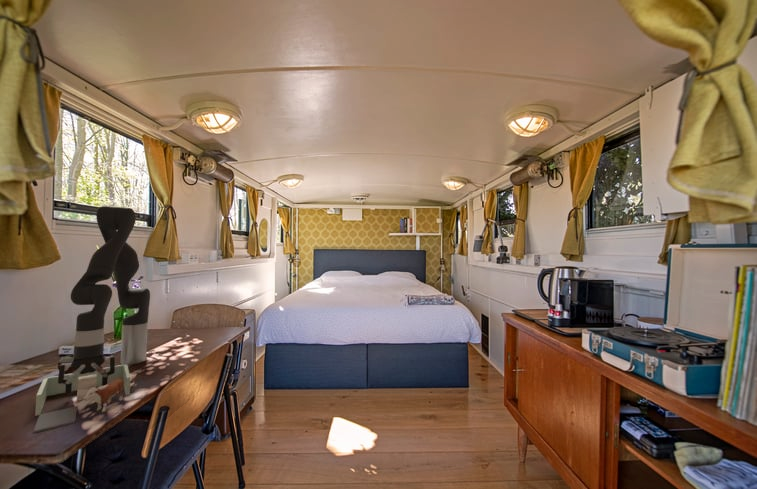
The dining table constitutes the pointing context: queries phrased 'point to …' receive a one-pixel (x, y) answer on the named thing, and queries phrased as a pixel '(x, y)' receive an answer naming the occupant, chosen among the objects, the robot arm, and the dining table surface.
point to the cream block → (85, 385)
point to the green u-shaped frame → (53, 387)
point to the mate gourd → (66, 360)
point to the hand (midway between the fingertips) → (86, 390)
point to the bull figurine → (105, 393)
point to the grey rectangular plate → (55, 419)
